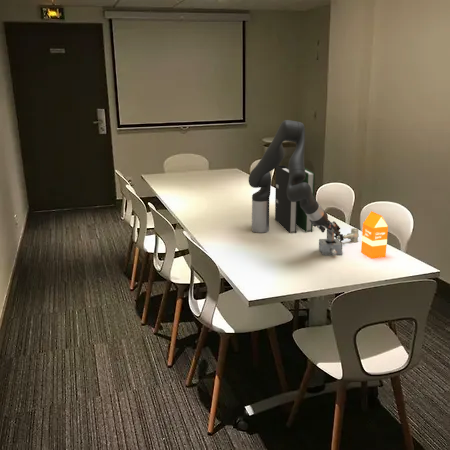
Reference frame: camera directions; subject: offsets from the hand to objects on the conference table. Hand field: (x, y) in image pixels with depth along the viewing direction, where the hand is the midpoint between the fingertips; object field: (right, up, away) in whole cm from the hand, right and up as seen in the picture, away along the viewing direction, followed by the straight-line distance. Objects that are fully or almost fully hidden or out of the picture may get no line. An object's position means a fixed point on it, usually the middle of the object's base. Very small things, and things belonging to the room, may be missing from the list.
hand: (331, 232), depth 228 cm
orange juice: (+19, -10, -2) cm, 22 cm away
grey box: (0, -10, +1) cm, 10 cm away
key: (0, -8, +2) cm, 8 cm away
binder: (-12, +3, +45) cm, 46 cm away
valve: (+12, -5, +16) cm, 20 cm away
